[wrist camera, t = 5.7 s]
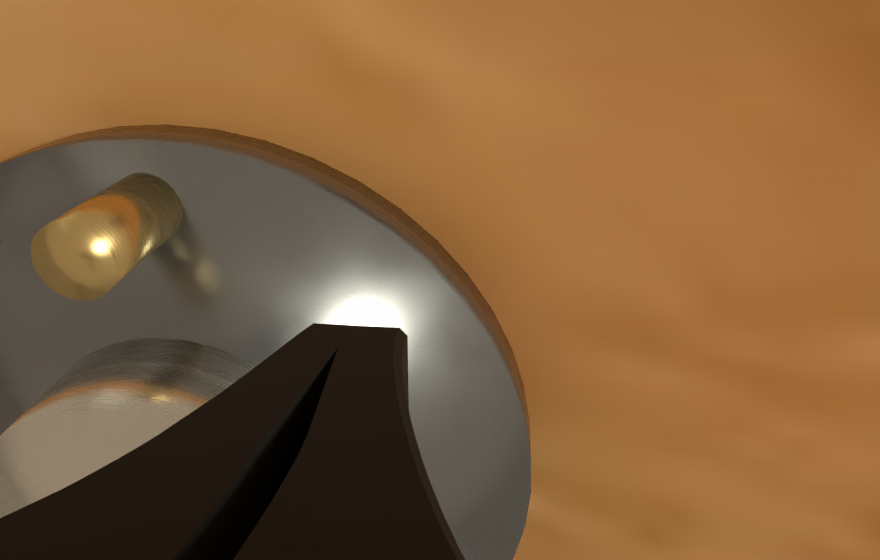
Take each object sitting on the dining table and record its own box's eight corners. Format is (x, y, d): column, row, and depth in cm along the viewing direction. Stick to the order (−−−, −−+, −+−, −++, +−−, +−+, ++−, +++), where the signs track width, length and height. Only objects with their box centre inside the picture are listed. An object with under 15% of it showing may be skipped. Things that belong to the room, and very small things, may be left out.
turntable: (512, 665, 24) (512, 815, 20) (5, 620, 25) (-92, 751, 21) (554, 136, 16) (569, 204, 12) (-190, 114, 17) (-405, 168, 13)
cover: (338, 584, 21) (302, 720, 17) (75, 557, 21) (-14, 684, 17) (330, 351, 17) (283, 461, 13) (15, 324, 18) (-113, 424, 14)
